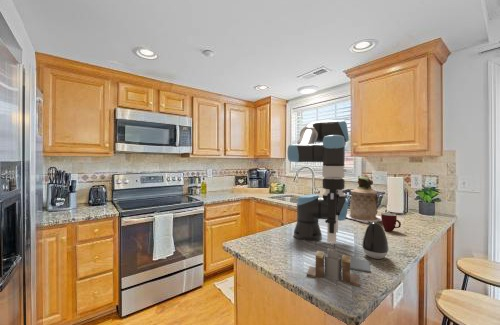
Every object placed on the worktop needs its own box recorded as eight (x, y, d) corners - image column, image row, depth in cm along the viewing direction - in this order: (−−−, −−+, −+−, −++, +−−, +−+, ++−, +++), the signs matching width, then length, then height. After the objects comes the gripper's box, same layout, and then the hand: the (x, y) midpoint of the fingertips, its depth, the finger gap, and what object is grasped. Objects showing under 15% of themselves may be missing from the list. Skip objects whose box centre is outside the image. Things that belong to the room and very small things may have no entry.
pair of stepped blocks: (306, 276, 85) (306, 255, 85) (309, 268, 92) (309, 248, 92) (359, 286, 79) (359, 263, 78) (358, 276, 85) (359, 256, 85)
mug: (402, 231, 142) (402, 215, 142) (399, 234, 136) (399, 217, 136) (383, 228, 149) (383, 212, 149) (379, 230, 144) (379, 214, 144)
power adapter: (337, 280, 82) (337, 246, 82) (323, 275, 86) (323, 242, 86) (342, 278, 84) (342, 244, 84) (328, 272, 88) (328, 240, 88)
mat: (336, 266, 93) (336, 265, 93) (338, 257, 102) (338, 256, 102) (370, 272, 88) (370, 271, 88) (368, 262, 98) (368, 260, 98)
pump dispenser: (379, 251, 109) (379, 219, 109) (393, 261, 99) (393, 225, 99) (357, 252, 109) (358, 219, 109) (370, 261, 98) (370, 225, 98)
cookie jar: (368, 224, 158) (368, 177, 158) (338, 216, 180) (338, 175, 180) (389, 220, 170) (389, 176, 170) (359, 213, 192) (359, 174, 192)
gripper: (343, 180, 72) (343, 249, 72) (345, 177, 95) (344, 229, 95) (318, 179, 75) (318, 245, 75) (325, 176, 98) (325, 227, 98)
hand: (333, 236), depth 85 cm, fingers open, 13 cm apart
